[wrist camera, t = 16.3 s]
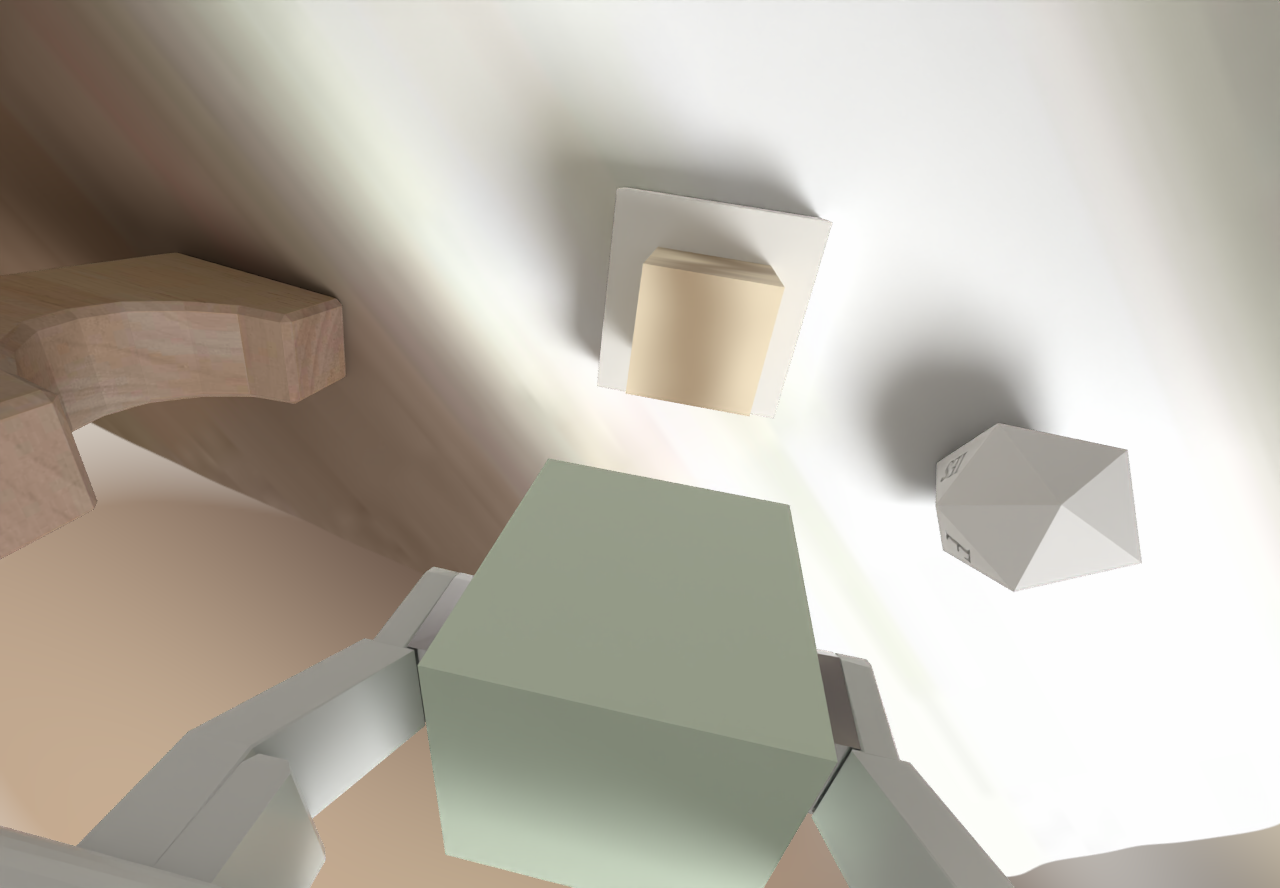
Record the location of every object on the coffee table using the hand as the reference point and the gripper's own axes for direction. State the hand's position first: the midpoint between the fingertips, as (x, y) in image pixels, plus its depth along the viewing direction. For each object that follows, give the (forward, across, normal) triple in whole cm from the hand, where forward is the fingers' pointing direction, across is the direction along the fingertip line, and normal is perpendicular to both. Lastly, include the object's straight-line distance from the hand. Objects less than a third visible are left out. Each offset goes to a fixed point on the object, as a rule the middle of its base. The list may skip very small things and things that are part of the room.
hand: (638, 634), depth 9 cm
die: (+23, -19, +6) cm, 30 cm away
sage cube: (+2, 0, 0) cm, 2 cm away
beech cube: (+19, 0, -1) cm, 19 cm away
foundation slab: (+22, 0, -1) cm, 22 cm away
